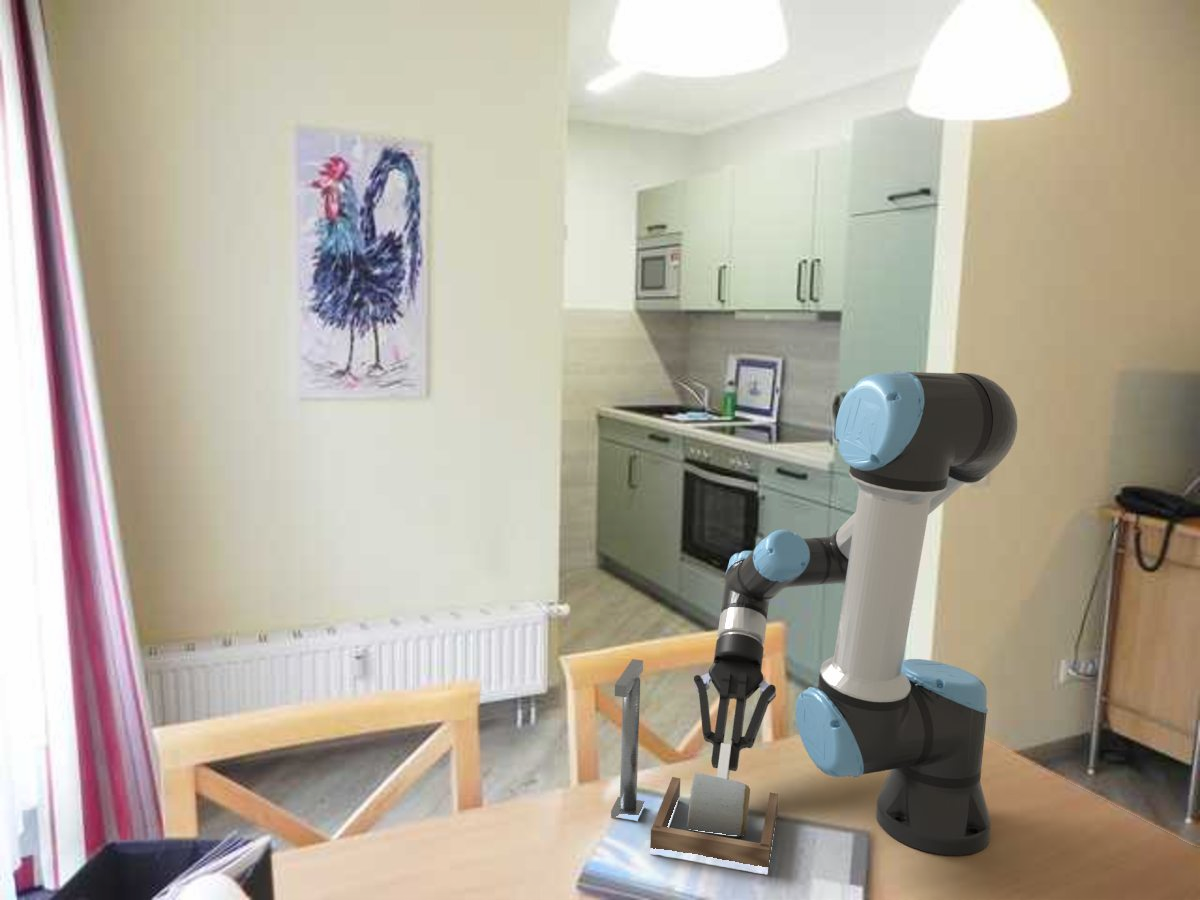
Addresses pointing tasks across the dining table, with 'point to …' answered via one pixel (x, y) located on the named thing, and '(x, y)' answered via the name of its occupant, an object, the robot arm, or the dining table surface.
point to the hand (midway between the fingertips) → (721, 790)
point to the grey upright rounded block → (718, 805)
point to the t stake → (629, 739)
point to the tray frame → (711, 843)
